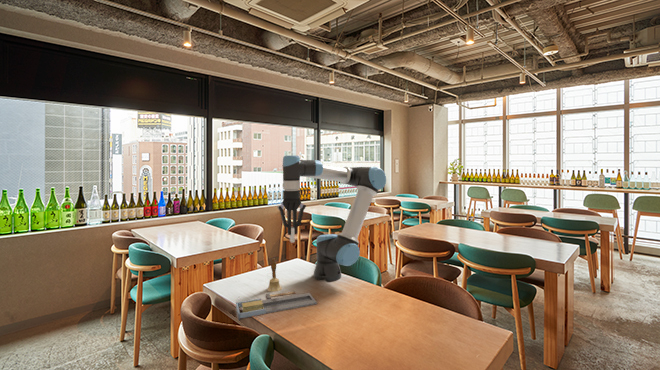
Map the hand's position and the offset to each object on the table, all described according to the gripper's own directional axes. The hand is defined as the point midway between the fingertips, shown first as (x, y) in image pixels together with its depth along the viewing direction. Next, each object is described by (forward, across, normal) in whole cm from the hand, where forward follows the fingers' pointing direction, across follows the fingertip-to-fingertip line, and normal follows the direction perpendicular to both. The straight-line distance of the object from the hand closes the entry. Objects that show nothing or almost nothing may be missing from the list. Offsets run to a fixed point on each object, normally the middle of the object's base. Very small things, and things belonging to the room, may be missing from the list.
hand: (292, 241), depth 141 cm
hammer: (+27, +4, -3) cm, 27 cm away
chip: (+26, +21, +6) cm, 34 cm away
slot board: (+26, +4, +6) cm, 27 cm away
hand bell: (+27, +6, -12) cm, 30 cm away
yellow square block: (+26, +17, +6) cm, 32 cm away
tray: (+26, +20, +6) cm, 34 cm away
